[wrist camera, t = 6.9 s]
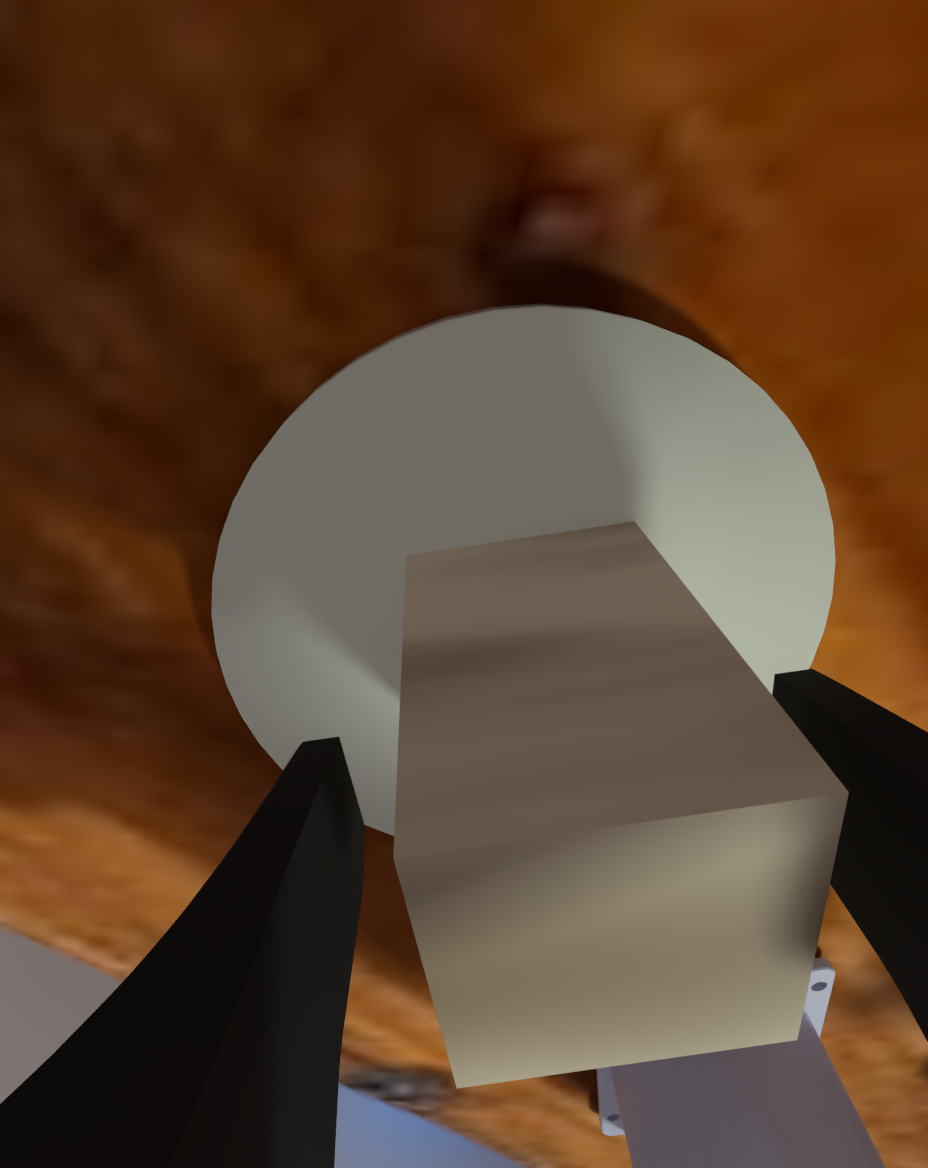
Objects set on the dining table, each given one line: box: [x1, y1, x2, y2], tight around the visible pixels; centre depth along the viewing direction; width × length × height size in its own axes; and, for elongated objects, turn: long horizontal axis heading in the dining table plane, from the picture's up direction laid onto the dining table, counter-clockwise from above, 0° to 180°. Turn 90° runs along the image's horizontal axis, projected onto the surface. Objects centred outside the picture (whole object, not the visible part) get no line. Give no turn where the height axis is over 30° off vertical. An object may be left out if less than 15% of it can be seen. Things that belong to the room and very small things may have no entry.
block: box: [393, 521, 849, 1088], centre depth 10 cm, size 4×4×7 cm
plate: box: [212, 304, 835, 836], centre depth 14 cm, size 13×13×1 cm
